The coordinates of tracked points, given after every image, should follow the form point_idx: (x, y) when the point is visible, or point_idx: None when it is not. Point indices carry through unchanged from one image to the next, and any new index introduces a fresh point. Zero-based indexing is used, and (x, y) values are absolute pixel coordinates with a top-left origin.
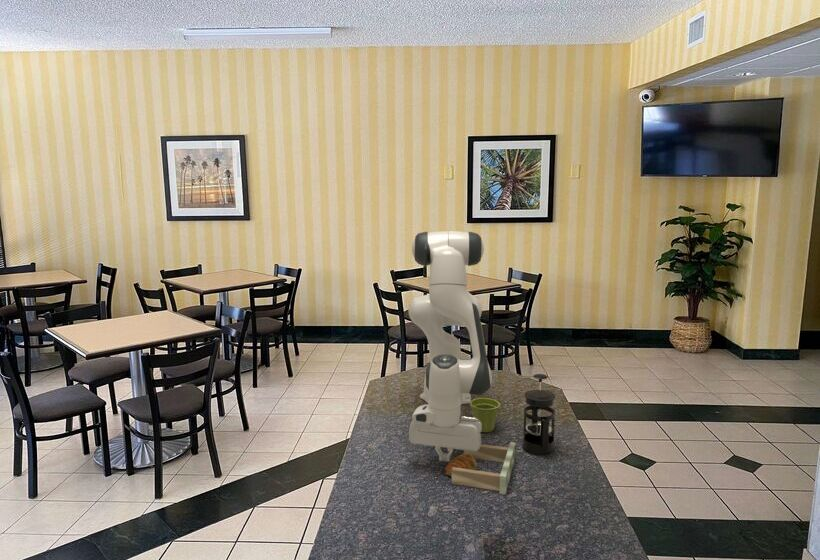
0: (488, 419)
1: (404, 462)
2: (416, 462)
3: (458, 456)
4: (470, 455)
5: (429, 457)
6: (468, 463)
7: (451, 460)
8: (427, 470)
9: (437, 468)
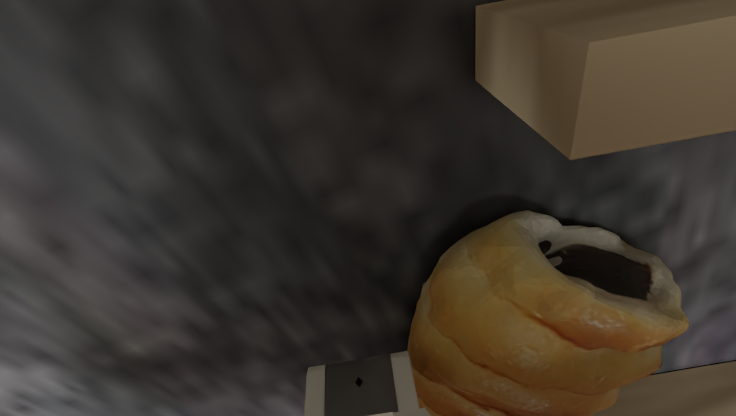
0: None
1: (28, 382)
2: (106, 350)
3: (505, 361)
4: (661, 341)
5: (127, 246)
6: (616, 395)
7: (428, 364)
8: (265, 388)
9: (315, 348)
